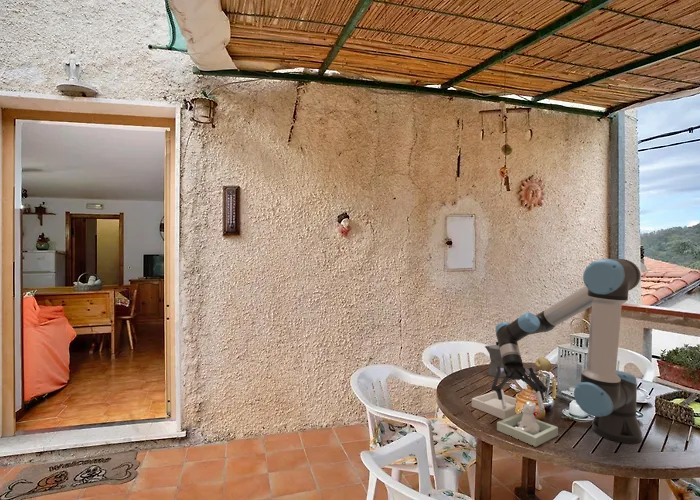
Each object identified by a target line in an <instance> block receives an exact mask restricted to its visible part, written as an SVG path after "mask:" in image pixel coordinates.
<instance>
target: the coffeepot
mask: <svg viewBox="0 0 700 500" xmlns="http://www.w3.org/2000/svg"><path fill="white" fill-rule="evenodd" d="M484 348H485V349H486V350H487V353H488V354H489V359H490V363H489V367H488V375H489V376H490V377H493V378H495V376H496V369H497V367H498V366H499V367H500V368H504V367H503V362H502V357H501V353H500V348H499V344H498V341H496V342H495V344H492V345H485V346H484ZM505 377H506V374H505V373H504V372H502V373H501V374H500V376H499V378H505Z"/></svg>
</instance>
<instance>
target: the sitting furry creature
mask: <svg viewBox="0 0 700 500" xmlns="http://www.w3.org/2000/svg"><path fill="white" fill-rule="evenodd" d="M525 402H526V404H524V405H523V409H522V410H523V411H524V412H523V413H522V414H523V417H522V420H521V421H520V422H518V423H517V425H516V426H514V427H515V428H517V429H520V430H522V431H524V432H527V433H529V434H532V435H536V434H538V433H540V429H539V426H538V424H537V423H536V421H535V419H536V416H535V414H534V413H535V411H536V407H537V404H536V402H532V401H531V400H526V401H525Z"/></svg>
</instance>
